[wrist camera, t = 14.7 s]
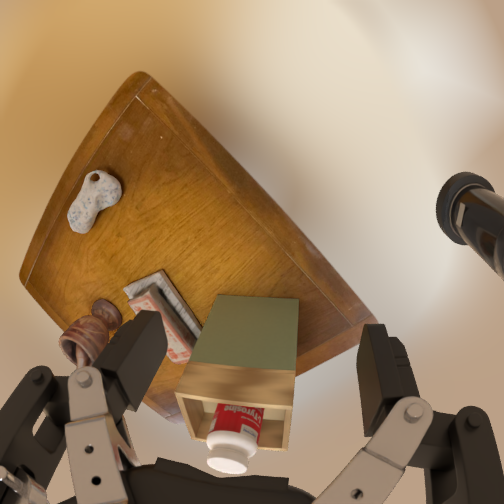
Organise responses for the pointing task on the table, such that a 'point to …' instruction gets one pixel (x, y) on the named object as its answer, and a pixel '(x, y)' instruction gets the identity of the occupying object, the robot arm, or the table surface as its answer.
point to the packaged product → (167, 313)
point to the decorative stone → (93, 200)
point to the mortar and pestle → (90, 334)
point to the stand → (250, 333)
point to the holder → (237, 398)
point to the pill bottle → (233, 437)
